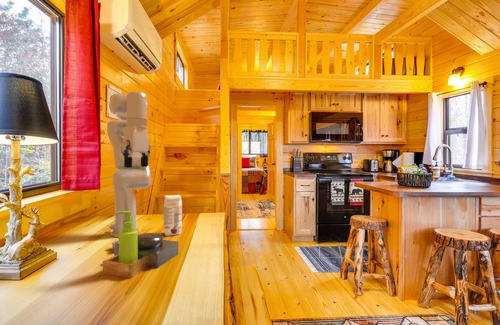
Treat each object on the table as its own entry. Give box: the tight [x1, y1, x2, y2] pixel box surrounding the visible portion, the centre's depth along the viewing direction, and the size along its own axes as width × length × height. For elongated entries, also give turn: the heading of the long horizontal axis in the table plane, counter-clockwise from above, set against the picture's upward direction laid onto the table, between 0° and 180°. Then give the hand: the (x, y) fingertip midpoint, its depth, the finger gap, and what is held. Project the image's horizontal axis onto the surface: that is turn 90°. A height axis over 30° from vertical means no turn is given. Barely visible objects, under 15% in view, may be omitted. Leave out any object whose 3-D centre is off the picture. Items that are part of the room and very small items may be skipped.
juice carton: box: [163, 194, 183, 237], centre depth 134 cm, size 8×9×19 cm
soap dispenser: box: [114, 211, 139, 264], centre depth 92 cm, size 6×7×20 cm
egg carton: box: [111, 240, 119, 251], centre depth 113 cm, size 11×8×4 cm
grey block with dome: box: [102, 232, 179, 279], centre depth 98 cm, size 18×23×8 cm
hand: (136, 166), depth 108 cm, fingers open, 9 cm apart
